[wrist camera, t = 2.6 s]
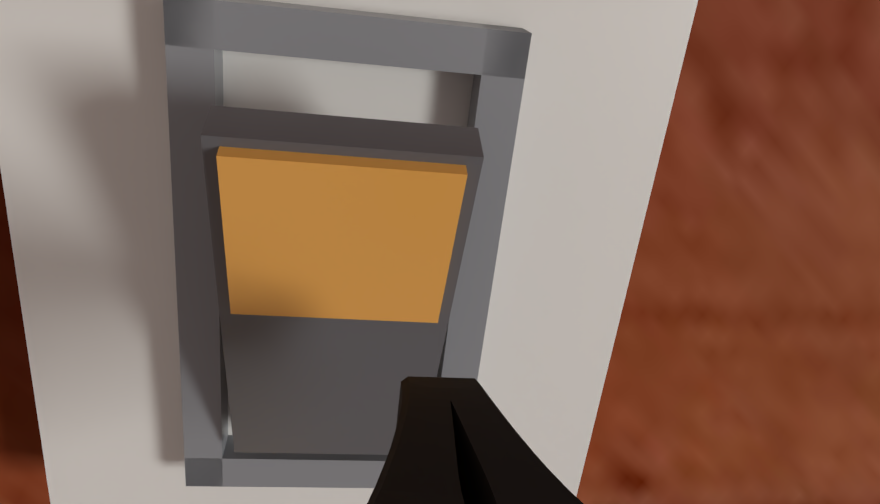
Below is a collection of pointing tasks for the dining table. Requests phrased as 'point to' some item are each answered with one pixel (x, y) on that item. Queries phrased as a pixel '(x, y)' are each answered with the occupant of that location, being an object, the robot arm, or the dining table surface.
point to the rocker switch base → (326, 93)
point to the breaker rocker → (332, 268)
